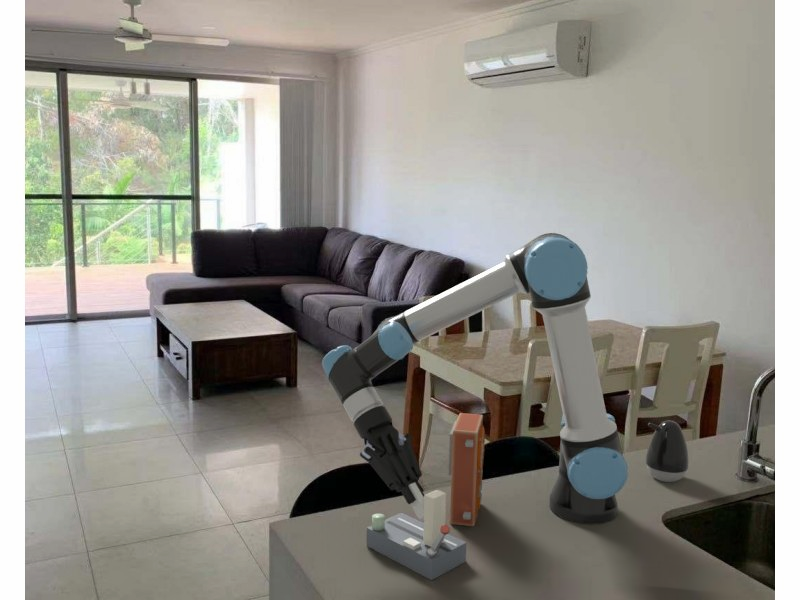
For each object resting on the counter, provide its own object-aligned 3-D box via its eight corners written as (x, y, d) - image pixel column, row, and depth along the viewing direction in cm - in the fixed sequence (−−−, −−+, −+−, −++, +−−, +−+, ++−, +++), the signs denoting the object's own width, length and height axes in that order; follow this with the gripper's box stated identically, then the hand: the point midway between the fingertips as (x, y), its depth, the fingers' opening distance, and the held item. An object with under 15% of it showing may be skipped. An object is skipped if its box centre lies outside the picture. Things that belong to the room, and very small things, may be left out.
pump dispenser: (640, 469, 195) (644, 413, 192) (681, 471, 193) (686, 415, 191) (647, 484, 185) (652, 426, 182) (691, 487, 183) (696, 428, 181)
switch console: (366, 545, 152) (366, 524, 151) (400, 530, 159) (401, 509, 158) (431, 580, 139) (432, 556, 139) (465, 561, 146) (466, 538, 146)
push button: (369, 527, 151) (369, 516, 150) (378, 523, 152) (378, 512, 152) (378, 531, 149) (378, 520, 148) (387, 527, 151) (387, 516, 150)
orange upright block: (483, 500, 174) (477, 529, 160) (453, 497, 175) (444, 526, 161) (486, 412, 171) (480, 434, 156) (456, 410, 172) (447, 431, 157)
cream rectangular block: (423, 543, 145) (424, 494, 143) (435, 537, 147) (436, 489, 145) (432, 547, 143) (433, 498, 141) (444, 541, 145) (446, 493, 144)
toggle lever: (424, 552, 140) (440, 524, 137) (431, 548, 142) (447, 521, 138) (430, 559, 139) (446, 531, 136) (437, 555, 141) (453, 528, 137)
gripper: (381, 416, 161) (437, 513, 153) (336, 430, 152) (392, 534, 144) (399, 398, 157) (457, 497, 148) (353, 411, 148) (412, 517, 139)
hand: (425, 515), depth 146 cm, fingers closed
